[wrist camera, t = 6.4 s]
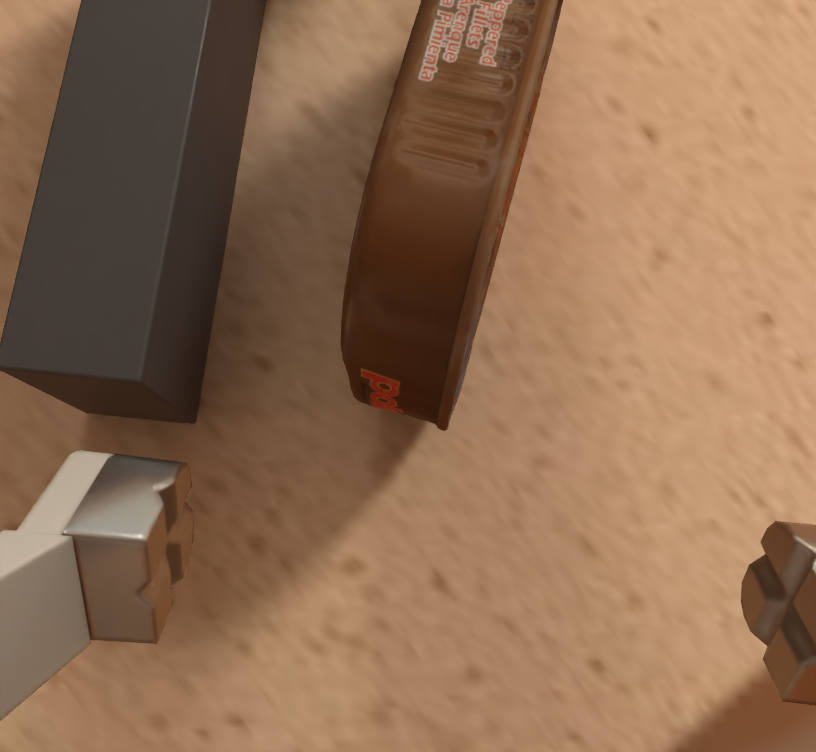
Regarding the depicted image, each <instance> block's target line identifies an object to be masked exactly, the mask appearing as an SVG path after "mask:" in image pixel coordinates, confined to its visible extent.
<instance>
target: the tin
mask: <svg viewBox="0 0 816 752" xmlns="http://www.w3.org/2000/svg"><path fill="white" fill-rule="evenodd" d="M562 3H563V0H421V4H420V7H419V10H418V13H417V16H416V19H415V22H414V25H413V28H412V31H411V34H410V38H409V41H408V44H407V48H406V51H405V54H404V58H403V61H402V65H401V68H400V71H399V74H398V77H397V79H396V82H395V86H394V90H393V93H392V96H391V100H390V103H389V106H388V109H387V113H386V116H385V119H384V123H383V126H382V129H381V132H380V136H379V139H378V142H377V145H376V148H375V152H374V155H373V159H372V163H371V167H370V170H369V174H368V178H367V182H366V186H365V190H364V194H363V198H362V202H361V206H360V210H359V215H358V219H357V224H356V228H355V233H354V237H353V242H352V247H351V253H350V259H349V265H348V272H347V278H346V284H345V290H344V299H343V310H342V320H341V350H342V358H343V362H344V365H345V367H346V370H347V373H348V377H349V381H350V386H351V390H352V392H353V395H354V397H355V398H356V399H357V400H358V401H360V402H362V403H364V404H367V405H370V406H373V407H376V408H379V409H383V410H387V411H391V412H395V413H399V414H403V415H407V416H410V417H414V418H418V419H422V420H425V421H429V422H431V423H434V424H436V426H437V427H438V428H439V429H441V430H443V431H445V430H447V429H448V425H449V422H450V418H451V415H452V413H453V410H454V407H455V404H456V402H457V399H458V396H459V393H460V390H461V387H462V383H463V379H464V376H465V372H466V367H467V364H468V361H469V357H470V353H471V348H472V343H473V339H474V336H475V333H476V329H477V325H478V322H479V319H480V316H481V312H482V308H483V304H484V300H485V297H486V293H487V288H488V286H489V282H490V278H491V274H492V271H493V267H494V263H495V259H496V255H497V252H498V248H499V244H500V240H501V236H502V233H503V229H504V226H505V222H506V218H507V214H508V210H509V206H510V203H511V199H512V196H513V192H514V188H515V184H516V181H517V177H518V174H519V170H520V166H521V163H522V159H523V155H524V151H525V148H526V144H527V140H528V137H529V133H530V129H531V125H532V121H533V117H534V113H535V109H536V106H537V102H538V98H539V95H540V90H541V86H542V81H543V76H544V73H545V70H546V67H547V63H548V59H549V55H550V52H551V48H552V44H553V40H554V36H555V32H556V28H557V23H558V19H559V16H560V11H561V6H562Z"/></svg>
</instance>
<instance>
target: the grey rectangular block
mask: <svg viewBox="0 0 816 752" xmlns="http://www.w3.org/2000/svg"><path fill="white" fill-rule="evenodd" d="M265 2H266V0H81V4H80V8H79V12H78V17H77V21H76V25H75V29H74V34H73V38H72V42H71V46H70V50H69V55H68V59H67V63H66V67H65V72H64V76H63V80H62V84H61V89H60V93H59V97H58V101H57V105H56V110H55V114H54V118H53V122H52V127H51V131H50V135H49V139H48V144H47V148H46V152H45V156H44V160H43V165H42V169H41V173H40V177H39V182H38V186H37V190H36V194H35V198H34V203H33V207H32V211H31V215H30V220H29V224H28V228H27V232H26V237H25V241H24V245H23V249H22V253H21V258H20V262H19V266H18V270H17V275H16V279H15V283H14V287H13V292H12V296H11V300H10V304H9V308H8V313H7V317H6V321H5V325H4V330H3V334H2V338H1V342H0V370H1V371H3V372H5V373H7V374H9V375H11V376H13V377H15V378H17V379H19V380H21V381H23V382H25V383H27V384H29V385H31V386H33V387H35V388H37V389H39V390H41V391H43V392H45V393H47V394H49V395H51V396H53V397H55V398H57V399H59V400H61V401H63V402H65V403H67V404H69V405H71V406H73V407H75V408H77V409H79V410H81V411H83V412H85V413H90V414H100V415H109V416H119V417H129V418H139V419H149V420H158V421H168V422H178V423H188V424H193V423H195V422H196V418H197V412H198V406H199V400H200V394H201V388H202V381H203V375H204V369H205V363H206V357H207V351H208V345H209V339H210V333H211V327H212V321H213V315H214V309H215V303H216V297H217V291H218V285H219V279H220V273H221V267H222V261H223V255H224V249H225V243H226V237H227V231H228V225H229V219H230V213H231V207H232V201H233V195H234V189H235V183H236V177H237V171H238V165H239V159H240V153H241V147H242V141H243V135H244V129H245V123H246V117H247V110H248V104H249V98H250V92H251V86H252V80H253V74H254V68H255V62H256V56H257V50H258V44H259V38H260V32H261V26H262V20H263V14H264V8H265Z"/></svg>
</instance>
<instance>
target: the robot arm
mask: <svg viewBox="0 0 816 752" xmlns="http://www.w3.org/2000/svg"><path fill="white" fill-rule="evenodd" d="M191 488H192V480H191V470H190V466H189V465H188V464H187V463H186V462H178V461H170V460H162V459H153V458H145V457H137V456H129V455H121V454H114V455H113V454H108V453H99V452H91V451H82V450H77V451H76V452H74V453H72V454H70V455H69V456H68V457H67V459H66V460H65V461H64V463H63V464H62V466H61V467H60V469H59V470H58V471H57V473H56V474H55V476H54V477H53V479H52V480H51V482H50V483H49V484H48V486H47V487H46V489H45V490H44V492H43V493H42V494H41V496H40V497H39V499H38V500H37V502H36V503H35V504H34V506H33V507H32V509H31V510H30V512H29V513H28V514H27V516H26V517H25V519H24V520H23V522H22V523H21V524H20V526H19V527H18V529H17V530H16V531H12V530H3V531H1V532H0V721H1V720H2V719H3V718H4V717H6V716H7V715H8V714H9V713H10V712H11V711H13V710H14V709H15V708H16V707H17V706H18V705H20V704H21V703H22V702H23V701H24V700H26V699H27V698H28V697H29V696H30V695H31V694H33V693H34V692H35V691H36V690H37V689H38V688H40V687H41V686H42V685H43V684H44V683H45V682H47V681H48V680H49V679H50V678H51V677H52V676H54V675H55V674H56V673H57V672H58V671H59V670H61V669H62V668H63V667H64V666H65V665H66V664H68V663H69V662H70V661H71V660H72V659H73V658H75V657H76V656H77V655H78V654H79V653H80V652H82V651H83V650H84V649H85V648H86V647H87V646H89V645H90V644H91V640H103V641H119V642H134V643H150V644H157V643H158V640H159V638H160V635H161V633H162V630H163V628H164V625H165V623H166V620H167V618H168V615H169V612H170V610H171V607H172V605H173V597H172V585H174V584H175V583H176V582H178V581H179V580H181V579H182V578H183V576H184V573H185V571H186V568H187V565H188V562H189V559H190V554H191V549H192V544H193V538H194V511H193V509H192V508H191V507H190V506H189V505H188V504H187V503H186V499H187V497H188V495H189V492H190V490H191ZM761 544H762V547H763V549H764V552H765V555H764V556H762V557H761V558H759V559H757V560H756V561H754V562H753V563H751V564H750V565H749V567H748V569H747V572H746V574H745V576H744V579H743V581H742V590H741V604H742V609H743V614H744V618H745V620H746V622H747V625H748V627H749V629H750V632H752V633H753V634H754V635H755V636H756V637H758V638H759V639H760V640H761V641H762V642H763V643H765V644H766V645H767V649H766V652H765V654H764V657H763V660H764V662H765V665H766V667H767V669H768V671H769V673H770V675H771V678H772V680H773V682H774V684H775V686H776V688H777V690H778V693H779V695H780V697H781V699H782V701H783V702H792V703H800V704H808V705H816V525H812V524H801V523H791V522H780V521H775V522H774V523H773V524H772V525H770V526H769V527H768V528H767V530H766V532H765V534H764V536H763V538H762V540H761Z"/></svg>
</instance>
